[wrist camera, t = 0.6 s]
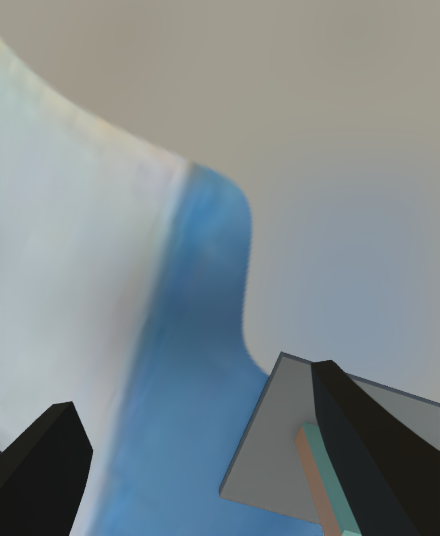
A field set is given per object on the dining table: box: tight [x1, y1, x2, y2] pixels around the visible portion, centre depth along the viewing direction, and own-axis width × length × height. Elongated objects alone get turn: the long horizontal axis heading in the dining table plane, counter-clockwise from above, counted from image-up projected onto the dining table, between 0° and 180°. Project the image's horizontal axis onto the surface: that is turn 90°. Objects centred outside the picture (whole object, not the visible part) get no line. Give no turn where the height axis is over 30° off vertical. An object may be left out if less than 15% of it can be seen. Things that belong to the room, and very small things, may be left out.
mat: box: [219, 352, 440, 525], centre depth 23 cm, size 11×14×1 cm
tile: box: [295, 422, 362, 536], centre depth 19 cm, size 2×8×7 cm, turn 70°
